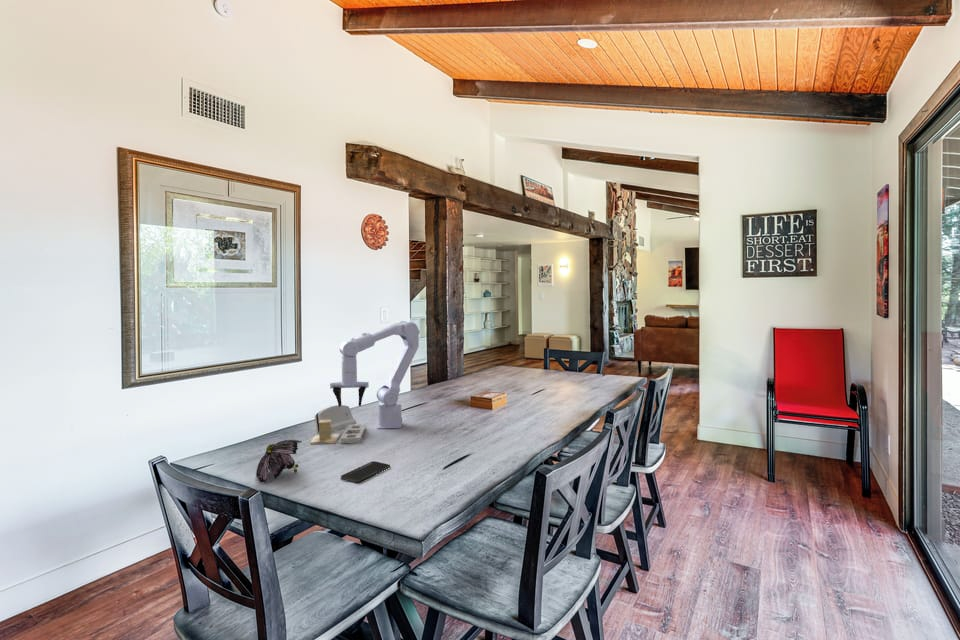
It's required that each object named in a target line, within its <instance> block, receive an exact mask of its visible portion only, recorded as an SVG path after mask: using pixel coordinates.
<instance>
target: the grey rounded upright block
mask: <svg viewBox="0 0 960 640" xmlns="http://www.w3.org/2000/svg"><path fill="white" fill-rule="evenodd" d="M326 419H331V433H333V432H336V431H335V430H337V431H339V430H338V429H340V430H343V429H346V428H345V427H347V426H348V425H355V424H357V422H356V419H355V418H354V417H353V414H352V411H351V409H350V406H348V405H346V404H345V405H343V404H341V407H339V405H338V404H335V405H331V406H328V407H326V408H323V409H321V410H319V411H318V412H317V413H316V414H315V415H314V421H315V423H314V424H315V428H316V429H315V430H316V433H319V421H320V420H326ZM342 428H343V429H342ZM332 431H333V432H332Z"/></svg>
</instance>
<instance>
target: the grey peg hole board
mask: <svg viewBox="0 0 960 640" xmlns="http://www.w3.org/2000/svg"><path fill="white" fill-rule="evenodd" d="M356 424H357V423H356ZM366 430H367V424H366V423H364V424H363V423H362V424H357V425H348V426H347V428H345V430H344V432H343V434H342V435H341V437H340V444H341V443H350V444H361V442H362V440H363V437H364V435H365V433H364V432H366Z"/></svg>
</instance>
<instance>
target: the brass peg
mask: <svg viewBox="0 0 960 640" xmlns="http://www.w3.org/2000/svg"><path fill="white" fill-rule="evenodd" d="M331 434H332V432H331V419H326V420H320V421H319V432H318V435H319V440H326V439H331Z"/></svg>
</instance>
